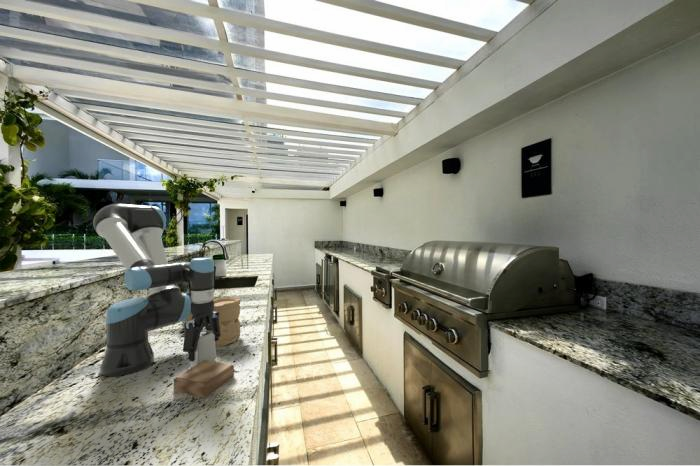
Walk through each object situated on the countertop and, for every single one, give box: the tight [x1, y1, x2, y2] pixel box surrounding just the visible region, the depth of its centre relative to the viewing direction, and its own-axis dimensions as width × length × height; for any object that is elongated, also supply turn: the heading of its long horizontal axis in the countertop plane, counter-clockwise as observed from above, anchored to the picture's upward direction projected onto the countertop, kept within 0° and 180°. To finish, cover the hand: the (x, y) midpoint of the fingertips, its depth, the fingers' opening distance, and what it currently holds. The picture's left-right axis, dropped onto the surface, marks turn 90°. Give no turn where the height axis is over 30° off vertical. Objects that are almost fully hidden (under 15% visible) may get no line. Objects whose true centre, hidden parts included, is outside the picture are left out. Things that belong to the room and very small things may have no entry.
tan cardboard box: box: [173, 360, 235, 399], centre depth 87 cm, size 12×12×4 cm
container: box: [213, 296, 241, 348], centre depth 121 cm, size 13×13×18 cm
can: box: [192, 329, 216, 364], centre depth 99 cm, size 8×8×12 cm
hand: (203, 363), depth 99 cm, fingers closed on can, 7 cm apart
